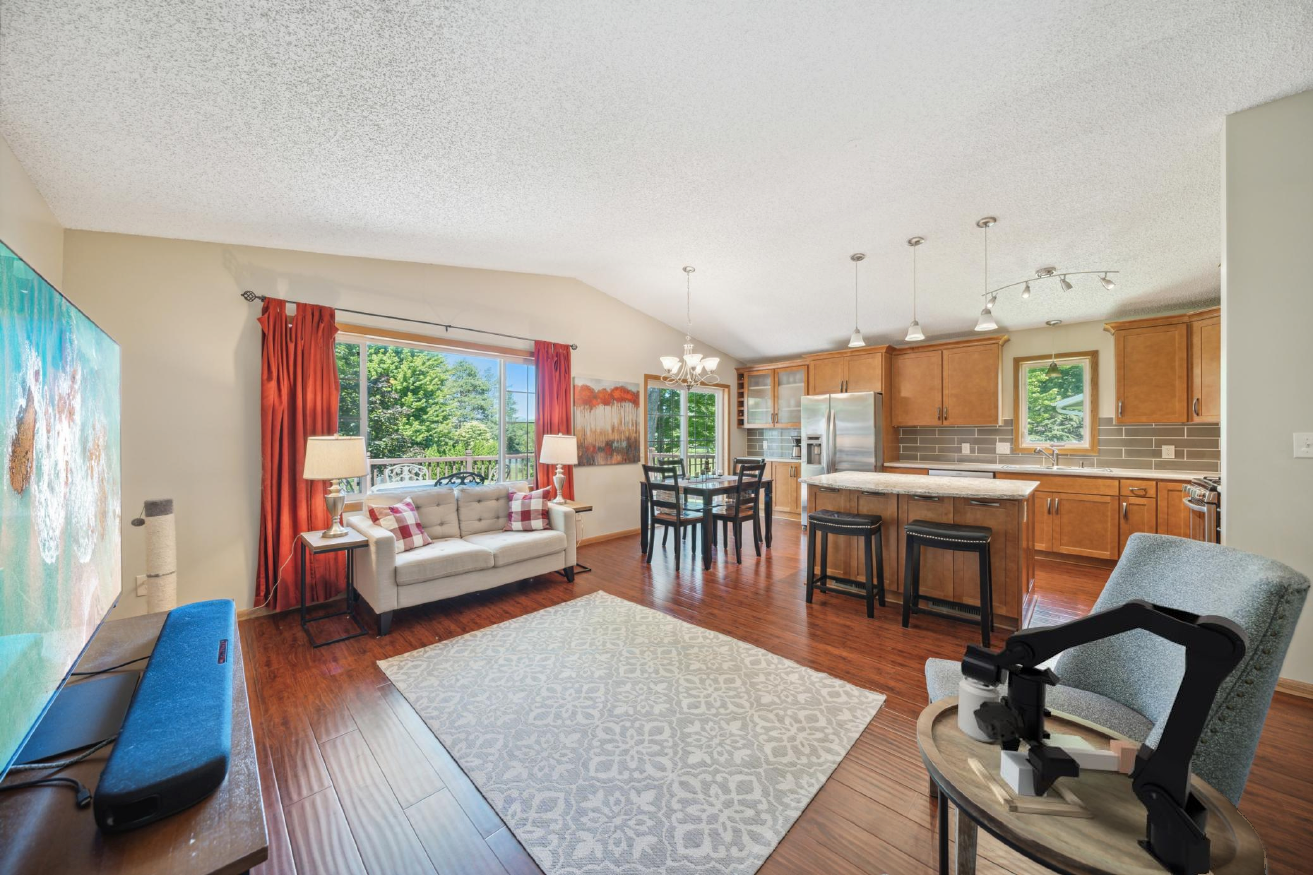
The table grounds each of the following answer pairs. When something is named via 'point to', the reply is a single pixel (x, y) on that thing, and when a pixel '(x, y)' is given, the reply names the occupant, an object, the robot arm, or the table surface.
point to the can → (973, 706)
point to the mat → (1067, 741)
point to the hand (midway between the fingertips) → (1023, 780)
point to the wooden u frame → (1071, 810)
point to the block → (1018, 772)
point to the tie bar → (1104, 757)
